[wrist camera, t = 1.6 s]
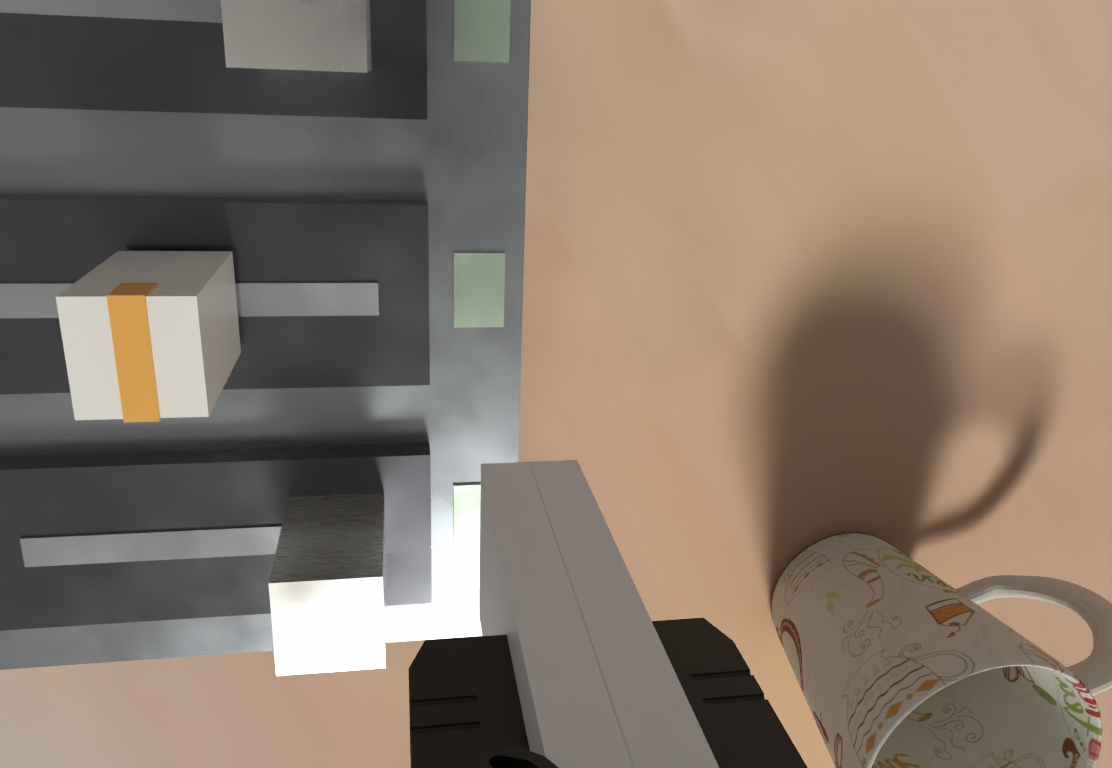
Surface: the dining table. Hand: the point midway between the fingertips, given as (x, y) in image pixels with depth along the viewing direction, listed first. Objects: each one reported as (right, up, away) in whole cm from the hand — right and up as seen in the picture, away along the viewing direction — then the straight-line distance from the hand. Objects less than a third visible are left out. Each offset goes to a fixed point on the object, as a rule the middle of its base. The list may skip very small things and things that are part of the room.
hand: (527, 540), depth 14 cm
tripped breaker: (-10, +5, +11) cm, 16 cm away
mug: (+14, -6, +24) cm, 28 cm away
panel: (-11, +6, +15) cm, 19 cm away
